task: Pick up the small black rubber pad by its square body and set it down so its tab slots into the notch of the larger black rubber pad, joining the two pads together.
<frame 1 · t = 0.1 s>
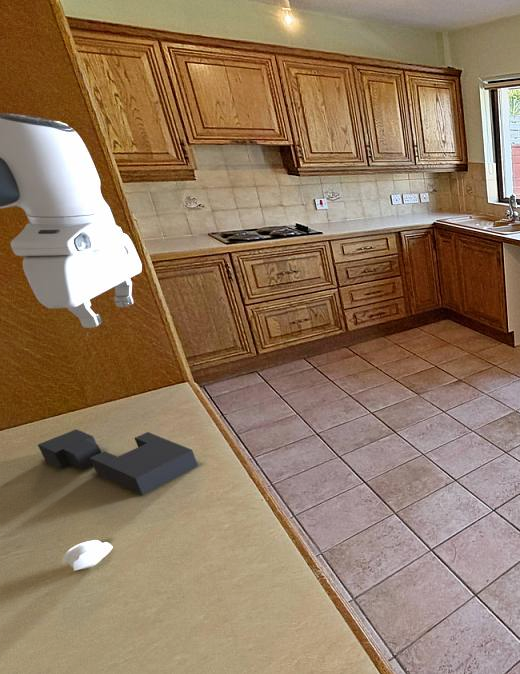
hand: (110, 315, 78), 24 cm above the counter, tool pointing down, fingers open, 8 cm apart
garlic: (91, 563, 63), on the counter
base pad: (148, 470, 79), on the counter
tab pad: (73, 456, 82), on the counter
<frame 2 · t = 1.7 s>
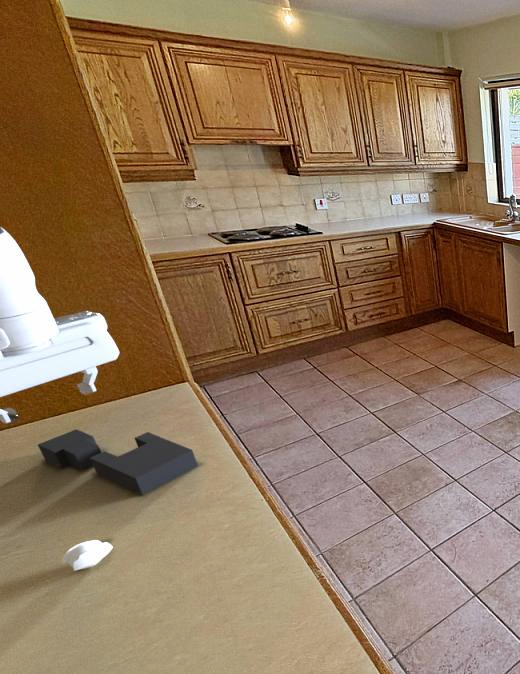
hand: (52, 405, 78), 10 cm above the counter, tool pointing down, fingers open, 8 cm apart
nothing on the counter moved.
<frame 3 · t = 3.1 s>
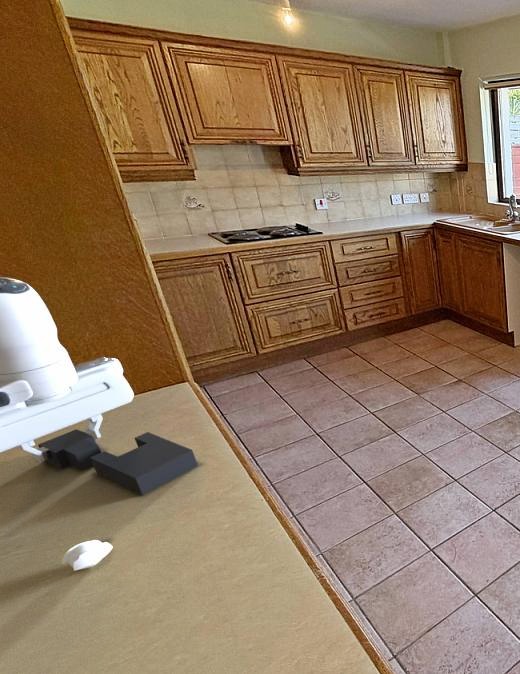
hand: (69, 448, 81), 2 cm above the counter, tool pointing down, fingers closed on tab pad, 5 cm apart
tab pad: (73, 456, 82), on the counter, touching gripper
everything else where it was.
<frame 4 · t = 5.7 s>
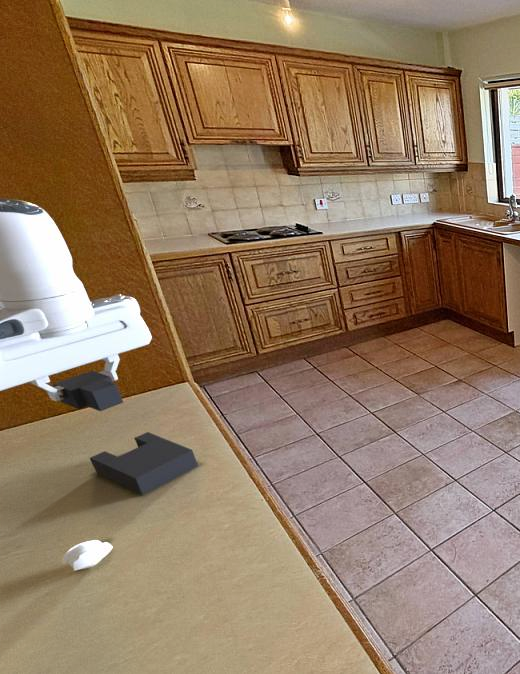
hand: (85, 389, 77), 13 cm above the counter, tool pointing down, fingers closed on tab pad, 5 cm apart
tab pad: (90, 398, 78), point 12 cm above the counter, touching gripper
everything else where it was.
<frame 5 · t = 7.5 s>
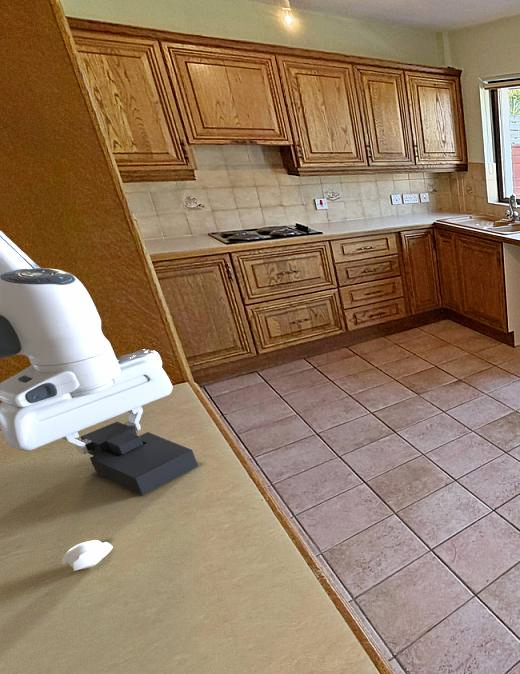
hand: (111, 440, 81), 3 cm above the counter, tool pointing down, fingers closed on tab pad, 5 cm apart
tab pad: (115, 449, 82), point 2 cm above the counter, touching gripper
everything else where it was.
when the fingers open (2 cm above the counter, at t = 8.5 s): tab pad stays where it is, on the counter.
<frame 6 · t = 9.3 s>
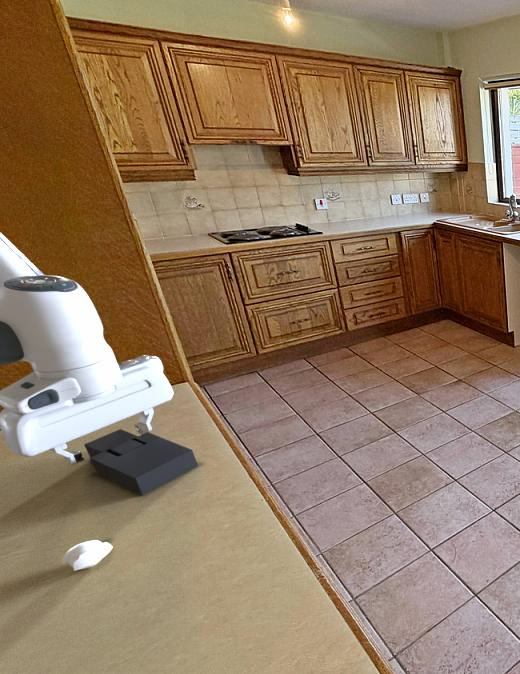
hand: (112, 446, 81), 2 cm above the counter, tool pointing down, fingers open, 8 cm apart
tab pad: (118, 456, 82), on the counter
everything else where it was.
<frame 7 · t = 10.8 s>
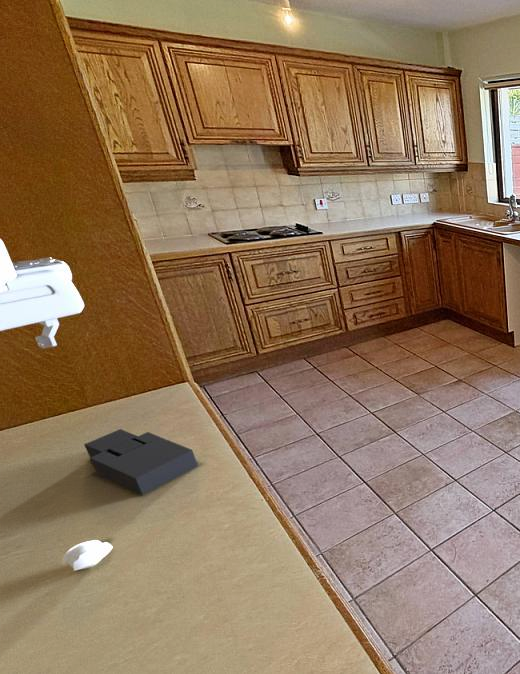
hand: (5, 357, 71), 20 cm above the counter, tool pointing down, fingers open, 8 cm apart
nothing on the counter moved.
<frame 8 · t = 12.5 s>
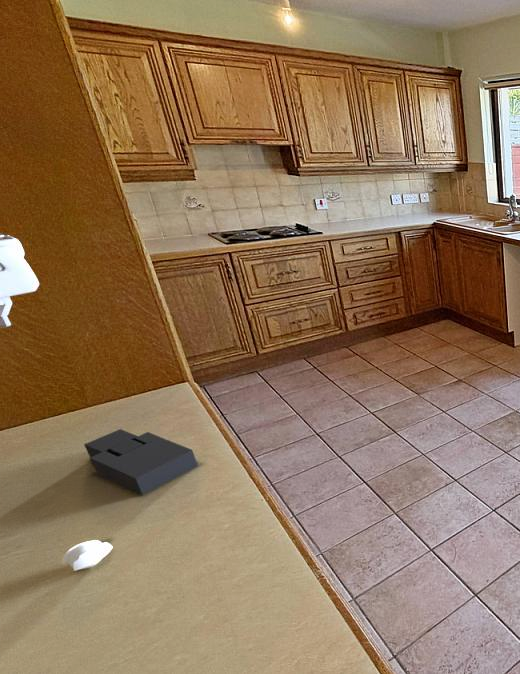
nothing on the counter moved.
at the end: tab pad 0.1 cm from the target spot, on the counter; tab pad tilted 0°; the gripper is holding nothing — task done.
